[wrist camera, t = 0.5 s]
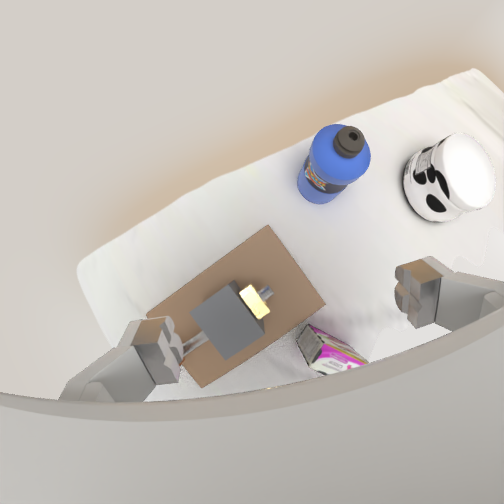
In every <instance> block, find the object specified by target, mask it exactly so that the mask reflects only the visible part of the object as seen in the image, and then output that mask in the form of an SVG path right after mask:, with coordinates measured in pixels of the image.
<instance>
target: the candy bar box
mask: <svg viewBox="0 0 504 504" xmlns="http://www.w3.org/2000/svg"><path fill="white" fill-rule="evenodd" d="M297 344H298V346H299V348H300V350H301V352H302V354H303V356H304V358H305V360H306V362H307V364H308V366H309V368H311V369H313V370H315V371H317V372H319V373H321V374H323V375H325V376H326V375H329V374H333V373H337V372H341V371H344V370H348V369H351V368H355V367H358V366H361V365H365V364H368V363H369V362H368V361H367V360H366V359H364V358H363V357H362V356H361V355H360V354H358V353H357V352H356V351H355V350H354V349H353V348H351V347H350V346H349V345H347V344H345V343H344V342H342V341H340V340H338V339H336V338H334V337H332V336H330V335H328V334H326V333H325V332H323V331H321V330H319V329H317V328H315V327H313V326H311V325H309V324H308V325H307V326H306V328H305V329H304V331H303V333H302V334H301V336H300V337H299V339H298V341H297Z"/></svg>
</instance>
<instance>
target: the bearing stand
mask: <svg viewBox="0 0 504 504" xmlns="http://www.w3.org/2000/svg"><path fill="white" fill-rule="evenodd" d="M250 283H252V284H253V285H254V287H255V288H256V290H257V291H260V290H261V289H262V288H264V287H265V286H266V285H269V287H270V288H271V289H272V291H273V292H274V295H272V296H271V297H270V298H268V299H267V300H265V302H266V303H267V305H268V306H269V309H270V312H269V313H268V314H266V315H265V316H263V317H262V318H261V319H259V320H258V318H257V317H256V316H255V314H254V313H253V312H252V310H251V311H250V310H249V309H248V308H247V306H246V305H245V303H244V300H243V298H242V297H241V295H240V294H239V292H240V290H241V289H243V288H244V287H246V286H247V285H248V284H250ZM324 305H326V304H325V303H324V301H323V300H322V298H321V297H320V296H319V294H318V293H317V291H316V290H315V288H314V287H313V286H312V284H311V283H310V281H309V280H308V279H307V277H306V276H305V274H304V273H303V272H302V270H301V269H300V267H299V266H298V265H297V263H296V262H295V260H294V259H293V258H292V256H291V255H290V253H289V252H288V251H287V249H286V248H285V247H284V245H283V244H282V242H281V241H280V240H279V238H278V237H277V236H276V234H275V233H274V231H273V230H272V229H271V227H270V226H269V225H267V226H265V227H264V228H263V229H261V230H260V231H258V232H257V233H256V234H254V235H253V236H252V237H250V238H249V239H247V240H246V241H245V242H243V243H242V244H241V245H239V246H238V247H236V248H235V249H234V250H232V251H231V252H230V253H228V254H227V255H225V256H224V257H223V258H221V259H220V260H219V261H217V262H216V263H214V264H213V265H212V266H210V267H209V268H208V269H206V270H205V271H204V272H202V273H201V274H199V275H198V276H197V277H195V278H194V279H193V280H191V281H190V282H189V283H187V284H186V285H185V286H183V287H182V288H180V289H179V290H178V291H176V292H175V293H174V294H172V295H171V296H170V297H168V298H167V299H166V300H164V301H163V302H162V303H160V304H159V305H158V306H156V307H155V308H153V309H152V310H151V311H149V312H148V313H147V314H146V316H147V317H148V319H150V318H157V317H164V316H169V317H171V318H172V321H173V323H174V325H175V327H174V331H173V332H175V333H176V334H177V335H179V337H180V339H181V342H182V344H183V343H185V342H186V341H188V340H189V339H191V338H192V337H194V336H195V335H197V334H198V333H200V332H201V331H203V332H204V334H205V335H206V336H207V338H208V339H209V340H208V341H206V342H205V343H203V344H202V345H200V346H199V347H197V348H196V349H194V350H193V351H191V352H190V353H188V354H187V355H185V356H184V358H185V360H184V362H183V363H182V365H183V366H184V367H185V369H186V370H187V371H188V372H189V374H190V375H191V376H192V377H193V379H194V380H195V381H196V382H197V384H198V385H199V386H200V387H201V388H203V387H205V386H206V385H208V384H210V383H211V382H213V381H215V380H216V379H218V378H219V377H221V376H223V375H224V374H226V373H227V372H229V371H231V370H232V369H234V368H235V367H237V366H238V365H240V364H242V363H243V362H245V361H246V360H248V359H249V358H251V357H252V356H254V355H255V354H257V353H258V352H260V351H261V350H263V349H264V348H266V347H267V346H269V345H270V344H272V343H273V342H275V341H276V340H277V339H279V338H280V337H282V336H283V335H285V334H286V333H287V332H289V331H290V330H292V329H293V328H294V327H296V326H297V325H299V324H300V323H301V322H303V321H304V320H305V319H307V318H308V317H310V316H311V315H312V314H314V313H315V312H316V311H318V310H319V309H320V308H322V307H323V306H324Z"/></svg>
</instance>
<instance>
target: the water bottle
mask: <svg viewBox="0 0 504 504" xmlns="http://www.w3.org/2000/svg"><path fill="white" fill-rule="evenodd" d="M370 157H371V154H370V149H369V146H368V144H367V142H366V140H365V138H364V136H363V134H362V132H361V131H360V130H359V129H357V128H355V127H352V126H345V125H341V124H334V125H329V126H326V127H324V128H323V129H321V130H320V131H319V132H318V133H317V135H316V136H315V138H314V140H313V142H312V145H311V148H310V152H309V156H308V157H307V159H306V160H305V162H304V165H303V167H302V169H301V171H300V173H299V176H298V181H297V183H298V188H299V191H300V193H301V194H302V196H303V197H304V198H305V199H306V200H308V201H310V202H312V203H315V204H324V203H327V202H330V201H331V200H332V199H334V198H335V197H336V196H337V195H338V194H339V193H340V192H342V191H343V190H344V189H345V188H346V186H347V185H348V184H350V183H352V182H354V181H355V180H357V179H358V178H359V177H360V176H361V175H363V174H364V173H365V171H366V170H367V169H368V167H369V164H370Z"/></svg>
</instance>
